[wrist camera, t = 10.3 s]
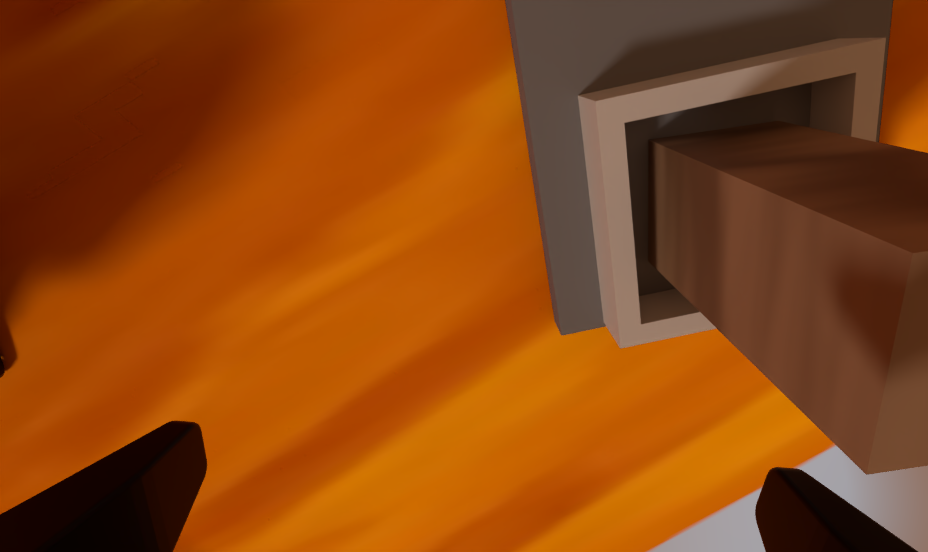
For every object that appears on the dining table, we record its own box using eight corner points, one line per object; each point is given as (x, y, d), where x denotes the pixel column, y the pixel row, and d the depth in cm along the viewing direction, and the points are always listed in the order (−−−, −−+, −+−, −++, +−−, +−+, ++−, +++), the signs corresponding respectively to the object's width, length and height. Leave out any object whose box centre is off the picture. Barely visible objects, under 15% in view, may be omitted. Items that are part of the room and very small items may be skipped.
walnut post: (647, 261, 20) (866, 474, 10) (648, 139, 19) (912, 253, 8) (766, 243, 20) (1100, 439, 10) (778, 121, 19) (1196, 211, 9)
